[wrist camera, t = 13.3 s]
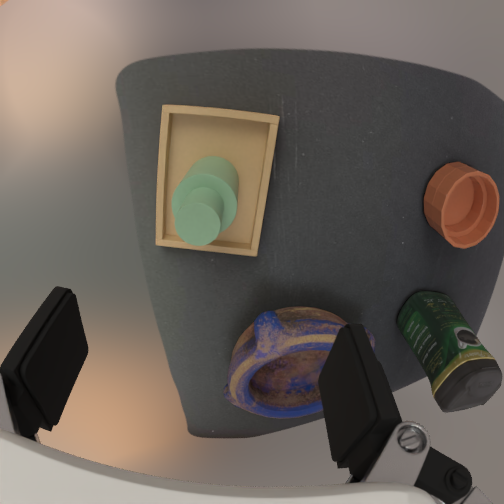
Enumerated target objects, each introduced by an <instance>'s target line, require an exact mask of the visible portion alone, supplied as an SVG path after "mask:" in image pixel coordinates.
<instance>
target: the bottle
mask: <svg viewBox="0 0 504 504" xmlns="http://www.w3.org/2000/svg"><path fill="white" fill-rule="evenodd" d="M238 188H239V177H238V173H237V171H236V169H235V167H234V166H233V165H232V164H231V163H230V162H229V161H227V160H226V159H224V158H221V157H217V156H208V157H204V158H201V159H200V160H198V161H197V162H195V163H194V164H193V165H192V167H191V168H190V169H189V171H188V172H187V174H186V175H185V176H184V178H183V179H182V181H181V182H180V183H179V185H178V186H177V188H176V189H175V191H174V193H173V197H172V212H173V215H174V217H175V229H176V232H177V234H178V235H179V237H180V238H181V239H182V240H183V241H185V242H186V243H188V244H191V245H195V246H202V245H206V244H209V243H211V242H212V241H214V240H215V239H216V238H217V236H218V234H219V233H221V232H223V231H224V230H226V229H227V228H228V227H229V226H230V225H231V223H232V222H233V220H234V218H235V216H236V212H237V203H238Z"/></svg>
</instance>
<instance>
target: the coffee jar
mask: <svg viewBox="0 0 504 504" xmlns="http://www.w3.org/2000/svg"><path fill="white" fill-rule="evenodd" d="M397 326H398V328H399V330H400V331H401V333H402V335H403V336H404V338H405V340H406V341H407V343H408V344H409V346H410V347H411V349H412V350H413V352H414V354H415V355H416V357H417V359H418V360H419V362H420V364H421V365H422V367H423V369H424V371H425V372H426V374H427V376H428V379H429V381H430V384H431V388H432V394H433V397H434V398H435V400H436V402H437V403H438V405H439V406H440V408H441V410H442V411H443V412H454V411H459V410H464V409H468V408H472V407H475V406H478V405H484V404H485V403H486V402H487V401H488V400H489V399H490V398H491V397H492V396H493V394H494V393H495V392H496V391H497V390H498V389H499V388H500V386H501V381H502V373H501V370H500V368H499V366H498V364H497V362H496V360H495V359H494V357H493V356H491V354H490V353H489V352H488V351H487V350H486V349H485V348H484V346H483V345H482V344H481V342H480V341H479V340H478V338H477V337H476V335H475V334H474V332H473V331H472V329H471V328H470V326H469V325H468V323H467V322H466V320H465V319H464V317H463V316H462V314H461V313H460V311H459V310H458V308H457V307H456V305H455V304H454V303H453V301H452V300H451V299H450V297H449V296H447V295H445V294H442V293H438V292H432V291H420V292H417V293H415V294H414V295H412V296H411V297H410V298H409V299H408V300H407V301H406V302H405V304H404V305H403V307H402V309H401V311H400V313H399V316H398V319H397Z"/></svg>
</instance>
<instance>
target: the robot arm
mask: <svg viewBox="0 0 504 504" xmlns="http://www.w3.org/2000/svg"><path fill="white" fill-rule="evenodd" d="M87 355H88V344H87V341H86V336H85V333H84V329H83V325H82V321H81V316H80V312H79V307H78V304H77V298H76V295H75V294H73V293H72V291H71V289H68V288H63V287H58V286H57V287H55V288H54V289H53V290H52V292H51V293H50V294H49V296H48V297H47V298H46V300H45V301H44V302H43V304H42V305H41V306H40V308H39V309H38V311H37V312H36V313H35V315H34V316H33V317H32V319H31V320H30V322H29V323H28V325H27V326H26V327H25V329H24V330H23V332H22V333H21V335H20V336H19V338H18V339H17V341H16V342H15V344H14V345H13V347H12V348H11V350H10V351H9V353H8V355H7V356H6V358H5V359H4V361H3V363H2V364H1V367H0V504H493V503H492V502H491V501H490V500H489V499H488V498H487V497H486V496H485V495H484V493H483V492H482V491H481V490H480V489H479V488H478V487H477V486H476V487H474V488H473V487H472V477H471V475H470V472H469V471H468V469H467V468H465V467H464V466H463V465H461V464H459V463H458V462H456V461H454V460H452V459H451V458H449V457H447V456H445V455H444V454H442V453H440V452H439V451H437V450H435V449H433V448H432V447H430V443H431V441H430V436H429V434H428V432H427V431H426V429H425V428H424V427H423V426H422V425H420V424H419V423H416V422H413V421H405V422H402V419H401V416H400V413H399V411H398V408H397V405H396V403H395V399H394V397H393V394H392V391H391V389H390V386H389V383H388V381H387V378H386V375H385V373H384V370H383V368H382V365H381V363H380V362H379V361H378V360H377V358H376V356H375V353H374V351H373V348H372V346H371V343H370V341H369V338H368V336H367V333H366V331H365V328H364V326H363V325H362V324H346V325H345V326H344V327H341V328H340V329H339V332H338V334H337V336H336V339H335V341H334V343H333V346H332V348H331V350H330V353H329V355H328V357H327V359H326V362H325V364H324V366H323V368H322V370H321V373H320V375H319V378H318V386H319V391H320V396H321V401H322V406H323V412H324V417H325V422H326V428H327V433H328V439H329V445H330V450H331V456H332V460H333V461H335V462H336V461H337V466H338V468H347V467H349V471H350V474H351V476H350V477H349V479H348V480H347V482H346V483H345V484H334V485H320V486H300V487H299V486H298V487H249V486H248V487H247V486H230V485H217V484H206V483H197V482H189V481H182V480H175V479H168V478H162V477H157V476H152V475H147V474H142V473H137V472H133V471H128V470H124V469H120V468H116V467H112V466H108V465H104V464H100V463H97V462H93V461H90V460H87V459H84V458H80V457H77V456H74V455H71V454H68V453H65V452H62V451H59V450H57V449H54V448H51V447H48V446H45V445H43V444H41V443H40V440H39V437H38V434H37V432H38V430H39V427H40V428H43V429H45V430H48V431H51V430H52V427H53V425H57V424H58V422H59V420H60V417H61V415H62V412H63V410H64V407H65V405H66V402H67V400H68V397H69V395H70V393H71V390H72V388H73V386H74V384H75V381H76V379H77V377H78V374H79V372H80V370H81V368H82V366H83V364H84V361H85V359H86V357H87Z"/></svg>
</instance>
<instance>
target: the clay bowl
mask: <svg viewBox="0 0 504 504" xmlns="http://www.w3.org/2000/svg"><path fill="white" fill-rule="evenodd" d="M498 211H499V194H498V190H497V186H496V184H495V182H494V181H493V180H492V178H491V177H490V176H489V175H488V174H486V173H484V172H482V171H480V170H477V169H475V168H473V167H471V166H469V165H466V164H464V163H461V162H453V163H448V164H446V165H445V166H443V167H442V168H440V169H439V170H438V171H436V172H435V174H434V175H433V177H432V178H431V180H430V181H429V183H428V185H427V189H426V192H425V196H424V214H425V216H426V218H427V221H428V223H429V225H430V226H431V227H432V228H433V229H435V230H436V231H437V232H438V233H439V234H440V235H441V236H443V237H444V238H445V239H446V240H447V241H448V242H449V243H450V244H451V245H453V246H454V247H458V248H468V247H471V246H474V245H476V244H478V243H479V242H480V241H481V240H483V239H484V238H485V237H486V236H487V234H488V233H489V231H490V230H491V228H492V227H493V225H494V223H495V220H496V217H497V214H498Z"/></svg>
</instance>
